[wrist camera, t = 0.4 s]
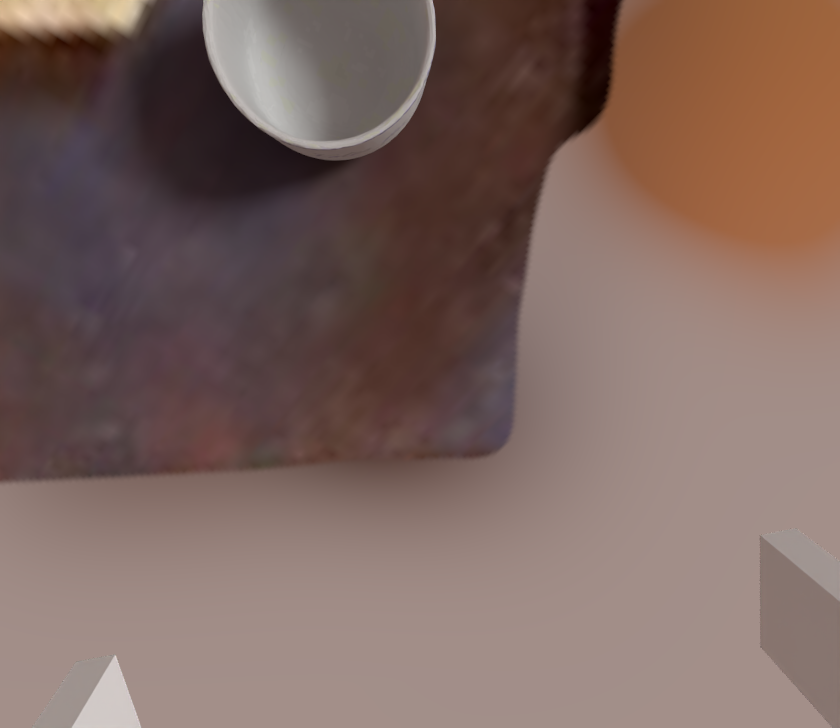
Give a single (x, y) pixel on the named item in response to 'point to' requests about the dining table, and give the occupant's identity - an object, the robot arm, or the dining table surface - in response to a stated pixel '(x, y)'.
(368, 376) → the dining table surface
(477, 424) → the dining table surface
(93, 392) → the dining table surface
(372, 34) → the teacup
